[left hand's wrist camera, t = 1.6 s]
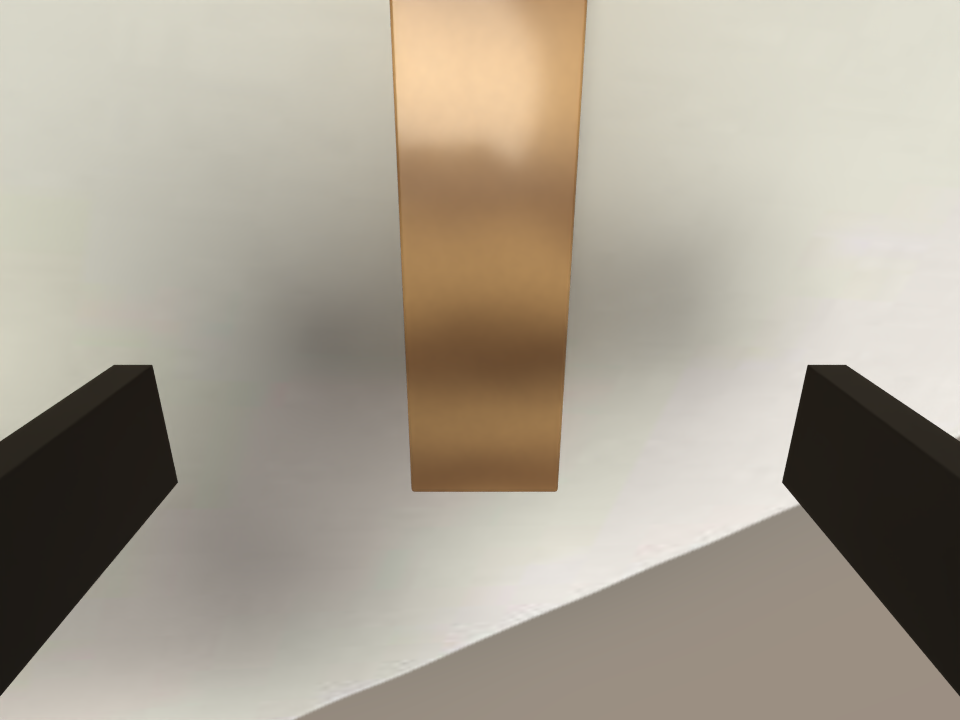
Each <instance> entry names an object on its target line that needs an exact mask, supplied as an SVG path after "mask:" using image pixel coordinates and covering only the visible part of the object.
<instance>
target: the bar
mask: <svg viewBox="0 0 960 720" xmlns="http://www.w3.org/2000/svg"><path fill="white" fill-rule="evenodd" d="M586 14H587V0H390V19H391V42H392V64H393V86H394V108H395V131H396V153H397V175H398V197H399V220H400V242H401V264H402V286H403V309H404V331H405V353H406V375H407V398H408V420H409V442H410V464H411V487H412V491H414V492H555V491H557V489H558V474H559V458H560V442H561V425H562V409H563V392H564V376H565V359H566V343H567V326H568V310H569V293H570V277H571V261H572V244H573V228H574V211H575V195H576V178H577V162H578V145H579V129H580V112H581V96H582V80H583V63H584V47H585V30H586Z"/></svg>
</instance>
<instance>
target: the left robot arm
mask: <svg viewBox="0 0 960 720" xmlns="http://www.w3.org/2000/svg"><path fill="white" fill-rule="evenodd" d="M177 483H178V481H177V476H176V472H175V467H174V462H173V458H172V453H171V449H170V444H169V439H168V435H167V430H166V426H165V421H164V416H163V412H162V407H161V403H160V398H159V393H158V389H157V384H156V380H155V375H154V370H153V366H152V365H113V366H112V367H110V368H109V369H107V370H106V371H104V372H103V373H101V374H100V375H98V376H97V377H95V378H94V379H92V380H91V381H89V382H88V383H87V384H85V385H84V386H82V387H81V388H79V389H78V390H76V391H75V392H73V393H72V394H70V395H69V396H67V397H66V398H64V399H63V400H61V401H60V402H58V403H57V404H55V405H54V406H52V407H51V408H49V409H48V410H46V411H45V412H43V413H42V414H40V415H39V416H37V417H36V418H34V419H33V420H31V421H30V422H28V423H27V424H26V425H24V426H23V427H21V428H20V429H18V430H17V431H15V432H14V433H12V434H11V435H9V436H8V437H6V438H5V439H3V440H2V441H0V696H1V695H2V693H3V692H4V691H5V690H6V689H7V687H8V686H9V685H10V684H11V683H12V681H13V680H14V679H15V678H16V677H17V675H18V674H19V673H20V672H21V671H22V669H23V668H24V667H25V666H26V665H27V663H28V662H29V661H30V660H31V659H32V657H33V656H34V655H35V654H36V653H37V651H38V650H39V649H40V648H41V647H42V645H43V644H44V643H45V642H46V641H47V639H48V638H49V637H50V636H51V634H52V633H53V632H54V631H55V630H56V628H57V627H58V626H59V625H60V624H61V622H62V621H63V620H64V619H65V618H66V616H67V615H68V614H69V613H70V612H71V610H72V609H73V608H74V607H75V606H76V604H77V603H78V602H79V601H80V600H81V598H82V597H83V596H84V595H85V594H86V592H87V591H88V590H89V589H90V588H91V586H92V585H93V584H94V583H95V582H96V580H97V579H98V578H99V577H100V576H101V574H102V573H103V572H104V571H105V570H106V568H107V567H108V566H109V565H110V564H111V562H112V561H113V560H114V559H115V558H116V556H117V555H118V554H119V553H120V551H121V550H122V549H123V548H124V547H125V545H126V544H127V543H128V542H129V541H130V539H131V538H132V537H133V536H134V535H135V533H136V532H137V531H138V530H139V529H140V527H141V526H142V525H143V524H144V523H145V521H146V520H147V519H148V518H149V517H150V515H151V514H152V513H153V512H154V511H155V509H156V508H157V507H158V506H159V505H160V503H161V502H162V501H163V500H164V499H165V497H166V496H167V495H168V494H169V493H170V491H171V490H172V489H173V488H174V487H175V485H176V484H177ZM782 483H783V484H784V485H785V487H786V488H787V489H788V490H789V491H790V493H791V494H792V495H793V496H794V497H795V499H796V500H797V501H798V502H799V503H800V505H801V506H802V507H803V508H804V509H805V511H806V512H807V513H808V514H809V515H810V517H811V518H812V519H813V520H814V521H815V523H816V524H817V525H818V526H819V527H820V529H821V530H822V531H823V532H824V533H825V535H826V536H827V537H828V538H829V539H830V541H831V542H832V543H833V544H834V545H835V547H836V548H837V549H838V550H839V551H840V553H841V554H842V555H843V556H844V557H845V559H846V560H847V561H848V562H849V563H850V565H851V566H852V567H853V568H854V570H855V571H856V572H857V573H858V574H859V576H860V577H861V578H862V579H863V580H864V582H865V583H866V584H867V585H868V586H869V588H870V589H871V590H872V591H873V592H874V594H875V595H876V596H877V597H878V598H879V600H880V601H881V602H882V603H883V604H884V606H885V607H886V608H887V609H888V610H889V612H890V613H891V614H892V615H893V616H894V618H895V619H896V620H897V621H898V622H899V624H900V625H901V626H902V627H903V628H904V630H905V631H906V632H907V633H908V634H909V636H910V637H911V638H912V639H913V640H914V642H915V643H916V644H917V645H918V646H919V648H920V649H921V650H922V651H923V653H924V654H925V655H926V656H927V657H928V659H929V660H930V661H931V662H932V663H933V665H934V666H935V667H936V668H937V669H938V671H939V672H940V673H941V674H942V675H943V677H944V678H945V679H946V680H947V681H948V683H949V684H950V685H951V686H952V687H953V689H954V690H955V691H956V692H957V693H958V695H959V696H960V441H958V440H957V439H955V438H954V437H952V436H951V435H949V434H948V433H946V432H945V431H943V430H942V429H940V428H939V427H937V426H936V425H934V424H933V423H932V422H930V421H929V420H927V419H926V418H924V417H923V416H921V415H920V414H918V413H917V412H915V411H914V410H912V409H911V408H909V407H908V406H906V405H905V404H903V403H902V402H900V401H899V400H897V399H896V398H894V397H893V396H891V395H890V394H888V393H887V392H885V391H884V390H882V389H881V388H879V387H878V386H876V385H875V384H873V383H872V382H871V381H869V380H868V379H866V378H865V377H863V376H862V375H860V374H859V373H857V372H856V371H854V370H853V369H851V368H850V367H848V366H847V365H808V366H807V370H806V375H805V380H804V384H803V389H802V393H801V398H800V403H799V407H798V412H797V416H796V421H795V426H794V430H793V435H792V439H791V444H790V449H789V453H788V458H787V462H786V467H785V472H784V476H783V481H782Z"/></svg>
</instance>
